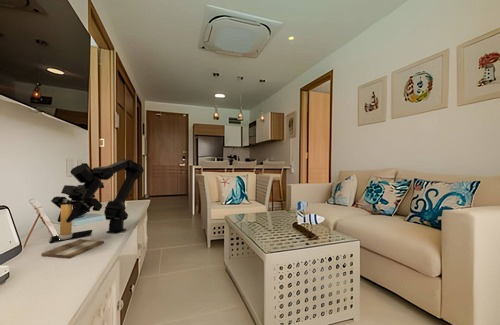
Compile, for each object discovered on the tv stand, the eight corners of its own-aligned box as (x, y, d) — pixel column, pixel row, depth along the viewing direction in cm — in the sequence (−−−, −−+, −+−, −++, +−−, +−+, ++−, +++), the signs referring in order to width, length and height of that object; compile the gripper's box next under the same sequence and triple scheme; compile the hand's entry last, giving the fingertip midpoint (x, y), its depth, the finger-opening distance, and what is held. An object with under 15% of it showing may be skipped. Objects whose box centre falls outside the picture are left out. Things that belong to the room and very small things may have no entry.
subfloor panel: (80, 241, 96) (80, 238, 96) (104, 243, 95) (104, 240, 95) (41, 256, 81) (41, 253, 81) (69, 258, 79) (69, 255, 79)
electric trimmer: (93, 236, 104) (93, 230, 104) (49, 244, 93) (50, 237, 93) (91, 234, 107) (91, 228, 107) (48, 242, 95) (49, 235, 95)
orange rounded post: (62, 236, 86) (63, 203, 86) (74, 235, 87) (75, 203, 87) (56, 239, 82) (57, 205, 82) (68, 239, 83) (69, 205, 83)
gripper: (56, 177, 89) (25, 209, 78) (97, 178, 87) (71, 211, 76) (73, 193, 97) (47, 224, 86) (111, 195, 95) (89, 227, 84)
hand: (62, 221), depth 83 cm, fingers closed on orange rounded post, 3 cm apart
